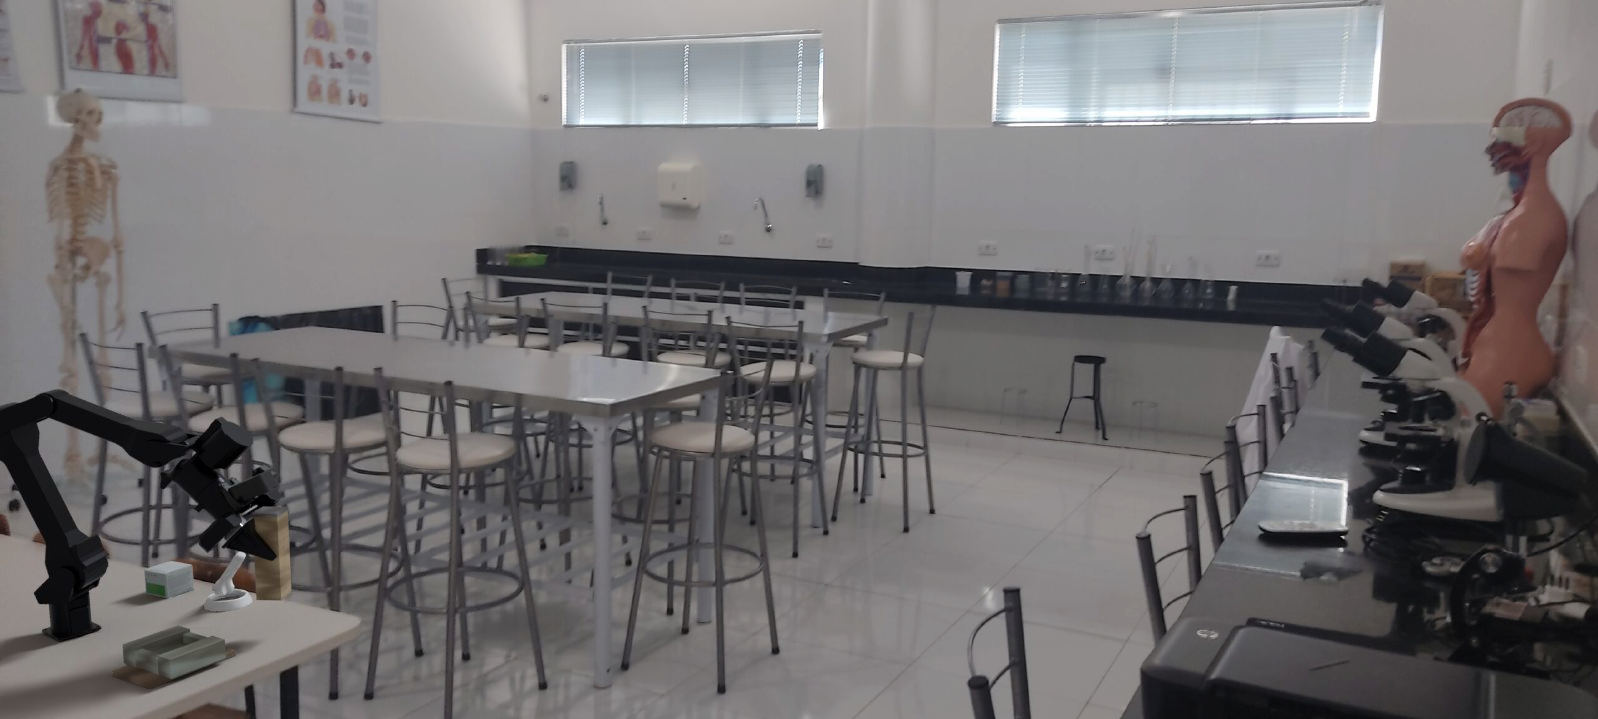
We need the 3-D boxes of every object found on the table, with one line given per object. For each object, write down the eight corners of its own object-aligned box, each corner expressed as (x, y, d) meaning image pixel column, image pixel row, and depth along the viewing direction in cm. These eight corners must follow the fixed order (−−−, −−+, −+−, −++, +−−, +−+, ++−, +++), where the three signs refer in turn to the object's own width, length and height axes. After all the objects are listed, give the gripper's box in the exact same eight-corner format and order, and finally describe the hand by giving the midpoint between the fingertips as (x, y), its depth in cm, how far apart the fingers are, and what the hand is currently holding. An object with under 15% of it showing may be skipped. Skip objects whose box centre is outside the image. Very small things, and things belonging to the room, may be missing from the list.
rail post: (256, 600, 184) (252, 513, 182) (267, 591, 188) (263, 506, 186) (281, 600, 184) (277, 513, 182) (291, 591, 188) (287, 506, 186)
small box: (144, 595, 204) (142, 568, 203) (173, 585, 209) (171, 559, 208) (167, 599, 202) (165, 573, 201) (195, 589, 207) (193, 563, 206)
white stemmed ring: (264, 584, 195) (226, 564, 193) (230, 633, 198) (193, 614, 196) (279, 561, 202) (242, 542, 200) (246, 609, 205) (210, 591, 203)
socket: (107, 674, 170) (105, 650, 170) (194, 642, 183) (192, 620, 182) (154, 690, 165) (153, 665, 164) (241, 656, 177) (239, 633, 177)
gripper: (214, 468, 173) (290, 538, 175) (268, 442, 192) (336, 505, 194) (165, 517, 174) (241, 586, 176) (223, 486, 193) (291, 549, 195)
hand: (280, 554), depth 185 cm, fingers closed on rail post, 4 cm apart
